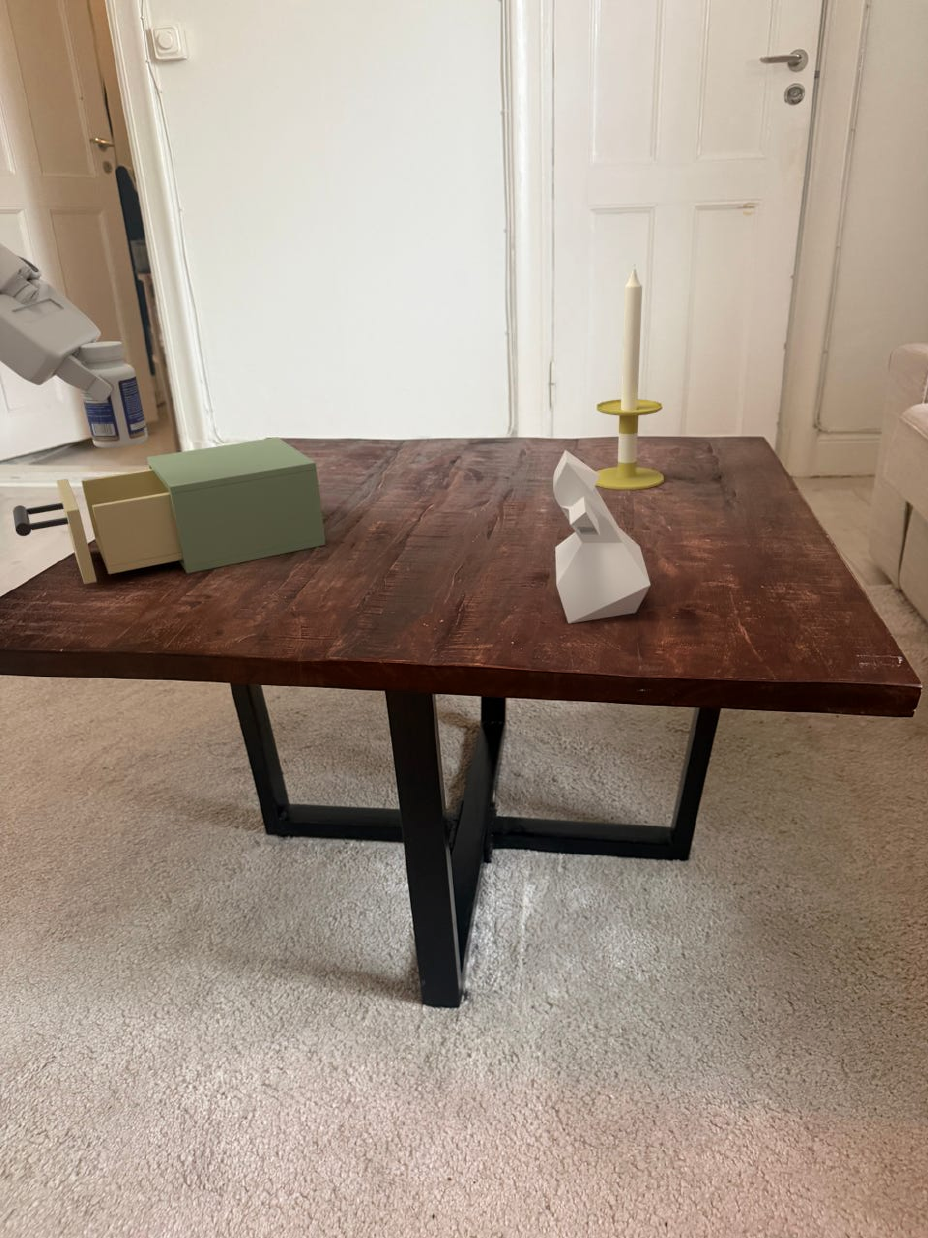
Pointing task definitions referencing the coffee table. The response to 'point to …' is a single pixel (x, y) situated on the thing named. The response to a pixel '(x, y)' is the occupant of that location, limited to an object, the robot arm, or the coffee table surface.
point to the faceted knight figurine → (594, 551)
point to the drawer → (115, 521)
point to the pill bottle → (113, 398)
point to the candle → (629, 404)
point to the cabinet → (241, 502)
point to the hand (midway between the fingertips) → (116, 389)
